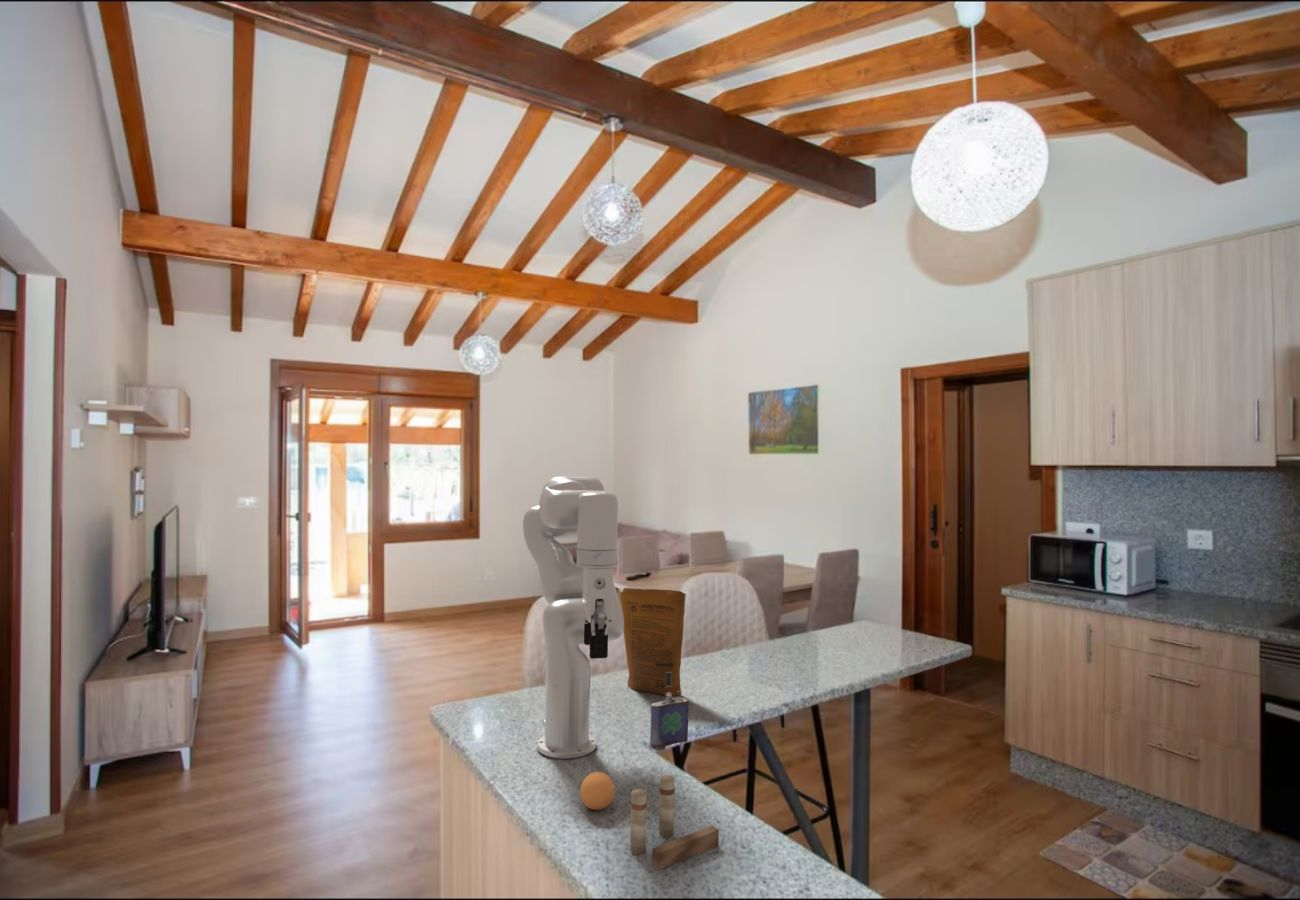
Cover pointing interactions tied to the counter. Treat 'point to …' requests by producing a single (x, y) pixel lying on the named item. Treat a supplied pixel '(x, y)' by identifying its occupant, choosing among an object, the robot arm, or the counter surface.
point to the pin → (666, 806)
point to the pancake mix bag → (653, 638)
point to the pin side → (638, 821)
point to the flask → (669, 721)
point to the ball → (597, 790)
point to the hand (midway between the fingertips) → (595, 650)
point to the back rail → (684, 847)
